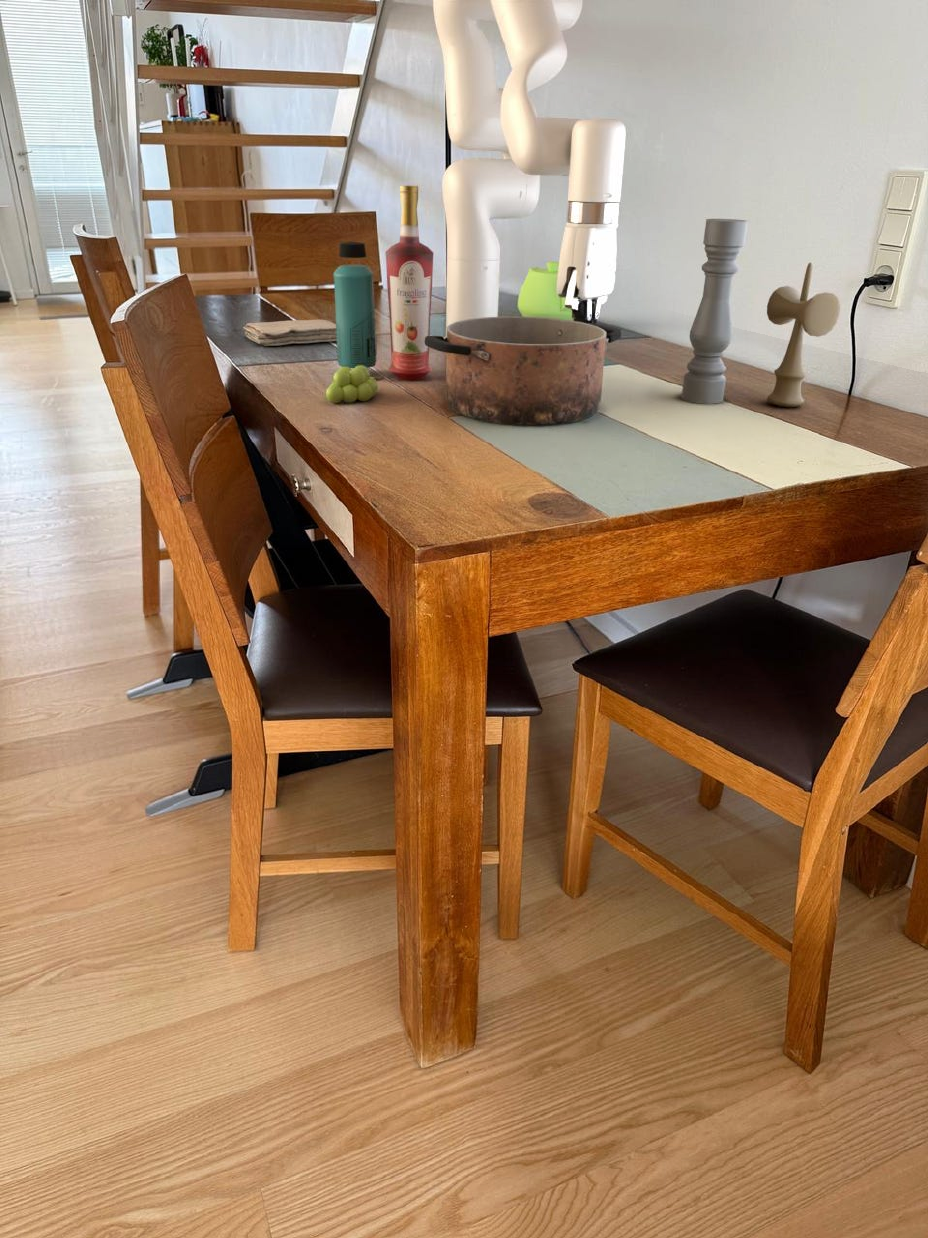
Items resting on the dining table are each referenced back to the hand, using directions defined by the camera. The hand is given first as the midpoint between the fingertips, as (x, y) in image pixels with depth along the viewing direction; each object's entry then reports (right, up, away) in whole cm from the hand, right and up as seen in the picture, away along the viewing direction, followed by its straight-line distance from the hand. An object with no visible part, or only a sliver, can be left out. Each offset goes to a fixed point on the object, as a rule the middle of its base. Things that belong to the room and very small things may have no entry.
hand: (583, 345), depth 141 cm
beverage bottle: (-36, -2, +9) cm, 37 cm away
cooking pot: (-10, -11, -8) cm, 17 cm away
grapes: (-34, -9, -6) cm, 36 cm away
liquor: (-27, -3, +7) cm, 28 cm away
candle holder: (+18, -9, -1) cm, 20 cm away
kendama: (+30, -10, -4) cm, 32 cm away
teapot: (0, +21, +55) cm, 59 cm away
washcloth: (-50, +11, +34) cm, 62 cm away
